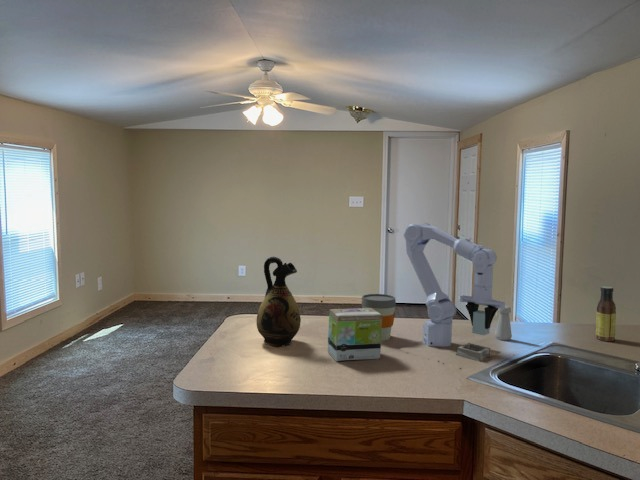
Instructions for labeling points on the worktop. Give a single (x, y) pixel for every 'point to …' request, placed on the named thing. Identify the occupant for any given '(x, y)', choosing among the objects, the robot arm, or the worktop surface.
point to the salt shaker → (503, 325)
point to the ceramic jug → (278, 307)
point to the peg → (479, 323)
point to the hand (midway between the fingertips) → (480, 326)
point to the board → (475, 352)
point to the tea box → (354, 334)
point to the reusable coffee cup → (382, 310)
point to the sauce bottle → (606, 315)
